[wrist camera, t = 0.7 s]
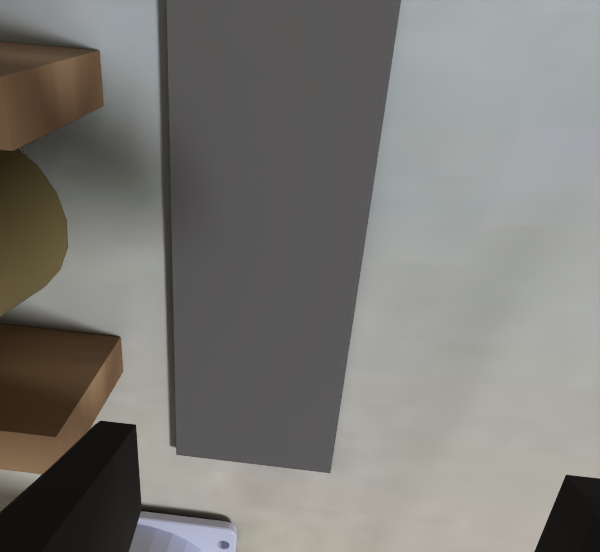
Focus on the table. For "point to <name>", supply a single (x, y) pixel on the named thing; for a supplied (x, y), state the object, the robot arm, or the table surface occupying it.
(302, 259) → the strip
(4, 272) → the cork
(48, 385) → the channel
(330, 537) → the table surface
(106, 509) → the robot arm
